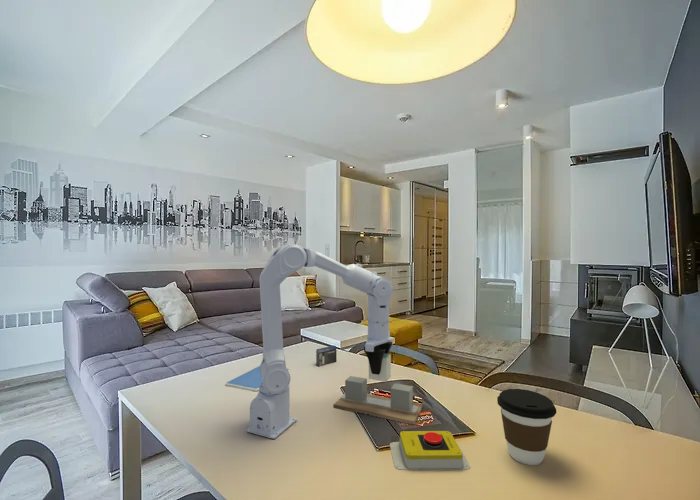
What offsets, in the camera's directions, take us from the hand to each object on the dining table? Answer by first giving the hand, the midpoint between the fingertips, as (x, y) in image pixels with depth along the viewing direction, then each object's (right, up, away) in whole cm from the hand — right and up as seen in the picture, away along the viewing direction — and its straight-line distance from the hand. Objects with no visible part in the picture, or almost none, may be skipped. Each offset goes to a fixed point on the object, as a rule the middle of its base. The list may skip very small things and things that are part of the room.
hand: (378, 371), depth 93 cm
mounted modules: (0, -8, 0) cm, 8 cm away
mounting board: (0, -10, 0) cm, 10 cm away
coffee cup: (+29, -10, -21) cm, 37 cm away
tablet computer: (-38, -10, +21) cm, 44 cm away
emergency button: (+9, -11, -21) cm, 25 cm away
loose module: (0, -2, 0) cm, 2 cm away
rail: (0, -10, 0) cm, 10 cm away
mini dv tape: (-16, -10, +35) cm, 40 cm away
